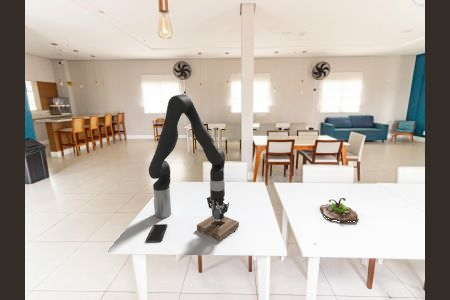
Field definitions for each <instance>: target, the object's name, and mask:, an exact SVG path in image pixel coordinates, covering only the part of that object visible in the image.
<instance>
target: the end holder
mask: <svg viewBox="0 0 450 300" xmlns="http://www.w3.org/2000/svg"><path fill="white" fill-rule="evenodd" d="M217 225H218V226H217ZM239 226H240V222H239V221H237V220H235V219H233V218H231V217H228V216H225V215H224V218H223V219H222V221H220V222H215V221H214V217H213V215H212V214H211V216H209V217H207V218H206V219H204V220H203V221H201V222H199V223H197V224H196V230H197V231H198V232H200V233H203V234H205V235H206V236H209V237H211V238H213V239H214V240H215V239H216V240H217V241H219V242H220V241H222V240H224V239H225V238H226V237H228V236H229V235H230V234H231V233H233V232H234V231H236V230H237V229H238V228H239Z"/></svg>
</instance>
